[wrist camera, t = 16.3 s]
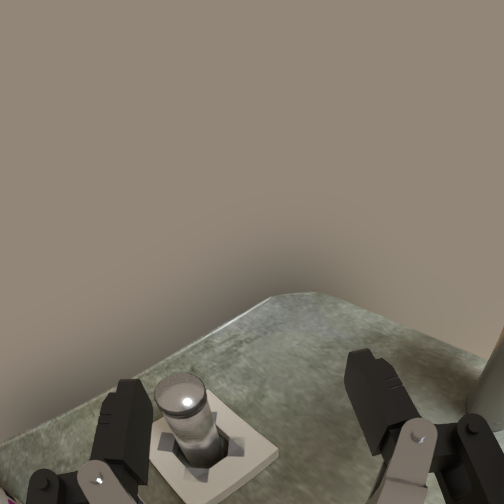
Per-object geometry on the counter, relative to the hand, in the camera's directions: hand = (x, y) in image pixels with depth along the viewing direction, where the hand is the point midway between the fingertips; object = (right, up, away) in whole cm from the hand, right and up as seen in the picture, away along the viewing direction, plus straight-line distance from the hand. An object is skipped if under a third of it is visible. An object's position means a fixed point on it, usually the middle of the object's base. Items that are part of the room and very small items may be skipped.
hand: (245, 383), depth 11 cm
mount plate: (-6, -21, +24) cm, 32 cm away
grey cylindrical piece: (-6, -21, +24) cm, 32 cm away
